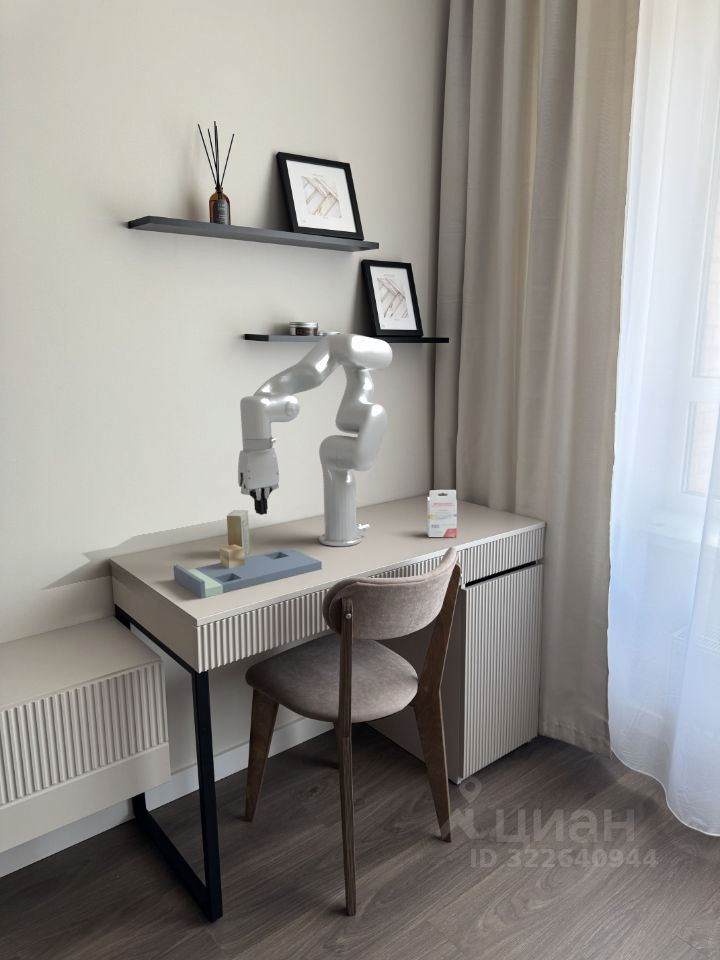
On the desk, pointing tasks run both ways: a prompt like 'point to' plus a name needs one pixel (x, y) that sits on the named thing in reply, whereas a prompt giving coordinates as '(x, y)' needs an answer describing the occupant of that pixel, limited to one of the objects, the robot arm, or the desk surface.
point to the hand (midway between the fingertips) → (261, 513)
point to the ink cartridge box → (442, 513)
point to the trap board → (245, 572)
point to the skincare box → (238, 529)
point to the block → (232, 556)
